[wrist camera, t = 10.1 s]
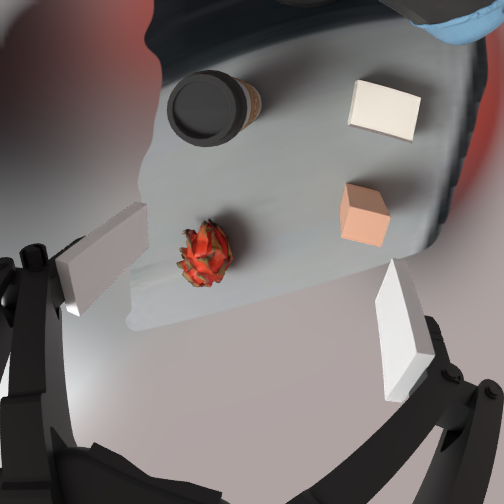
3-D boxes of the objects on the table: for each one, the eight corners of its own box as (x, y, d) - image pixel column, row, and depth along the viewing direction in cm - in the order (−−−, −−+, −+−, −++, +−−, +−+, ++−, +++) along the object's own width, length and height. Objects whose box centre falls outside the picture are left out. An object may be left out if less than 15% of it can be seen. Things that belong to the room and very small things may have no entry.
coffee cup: (268, 133, 43) (241, 152, 30) (212, 131, 44) (163, 149, 31) (270, 75, 39) (242, 67, 26) (212, 76, 40) (161, 72, 27)
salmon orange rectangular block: (345, 182, 43) (349, 206, 35) (379, 191, 43) (390, 216, 34) (339, 208, 45) (341, 237, 37) (371, 216, 45) (380, 247, 36)
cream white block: (354, 81, 36) (358, 79, 32) (411, 97, 35) (421, 97, 31) (347, 122, 39) (349, 126, 35) (403, 137, 38) (411, 143, 34)
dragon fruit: (206, 271, 58) (220, 208, 54) (236, 295, 53) (253, 227, 48) (166, 278, 52) (176, 209, 48) (193, 306, 47) (207, 231, 42)
